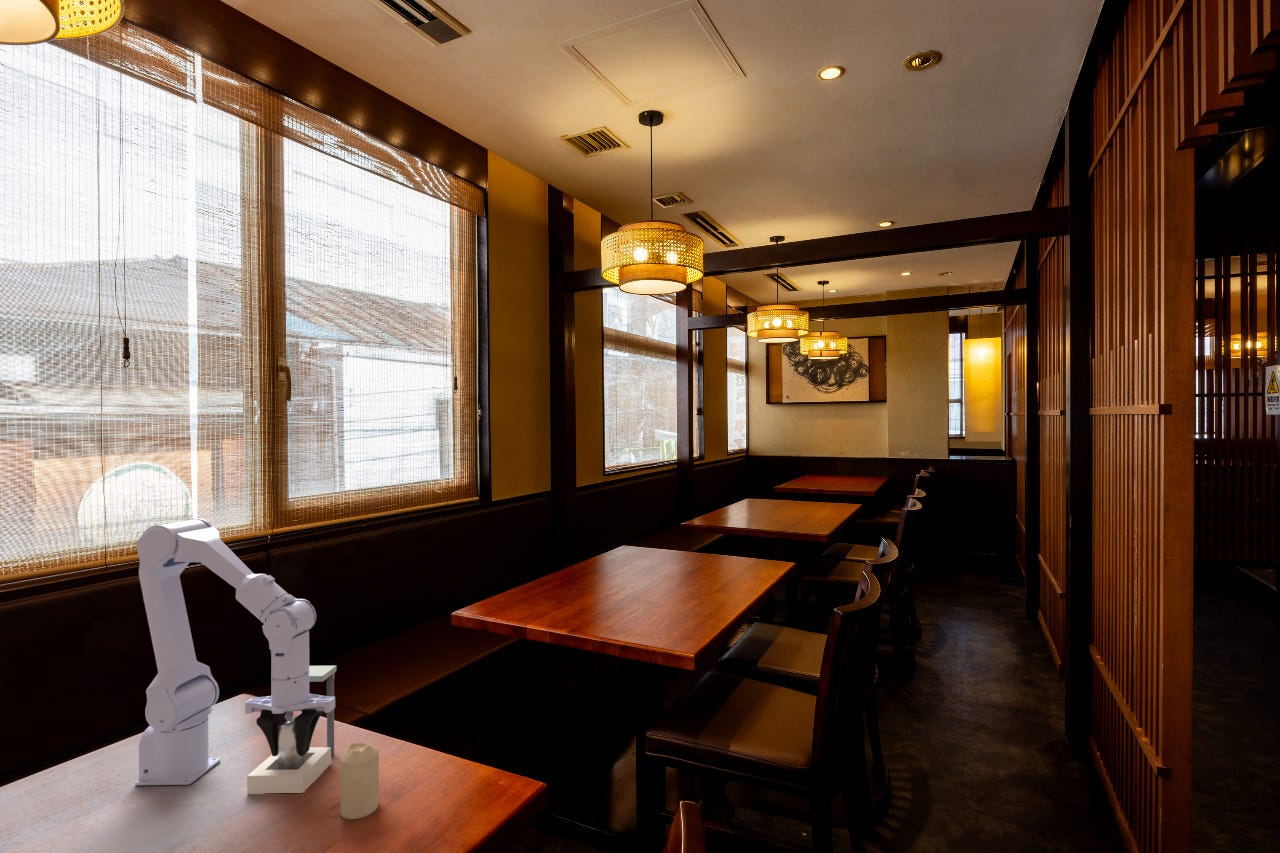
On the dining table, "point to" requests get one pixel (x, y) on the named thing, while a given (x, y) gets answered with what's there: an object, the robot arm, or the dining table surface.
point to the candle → (359, 781)
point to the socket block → (289, 773)
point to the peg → (288, 745)
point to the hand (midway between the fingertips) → (290, 753)
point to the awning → (319, 676)
